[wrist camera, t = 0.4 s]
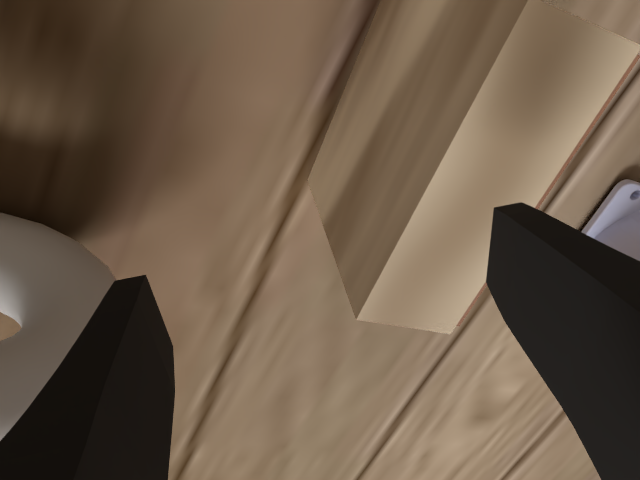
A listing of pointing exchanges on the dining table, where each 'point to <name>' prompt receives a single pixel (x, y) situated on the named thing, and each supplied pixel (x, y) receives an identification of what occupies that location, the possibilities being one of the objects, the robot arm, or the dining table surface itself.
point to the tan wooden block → (453, 144)
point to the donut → (41, 307)
